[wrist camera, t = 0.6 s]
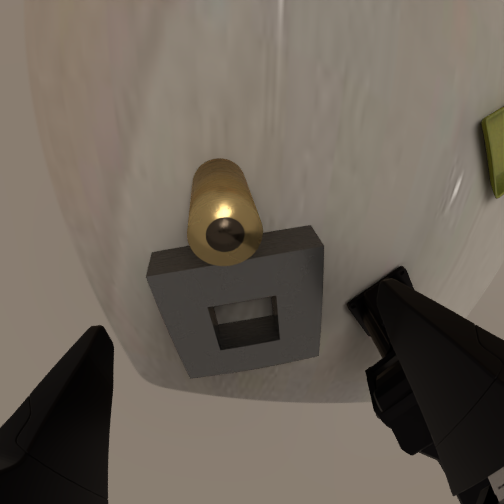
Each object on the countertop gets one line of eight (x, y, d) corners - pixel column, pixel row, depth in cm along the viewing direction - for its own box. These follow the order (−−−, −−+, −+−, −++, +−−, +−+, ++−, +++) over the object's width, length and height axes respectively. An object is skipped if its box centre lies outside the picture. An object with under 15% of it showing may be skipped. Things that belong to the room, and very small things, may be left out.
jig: (310, 332, 29) (318, 355, 27) (190, 353, 29) (190, 378, 26) (310, 225, 23) (323, 245, 20) (151, 252, 22) (145, 276, 19)
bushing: (255, 186, 20) (277, 238, 15) (215, 217, 21) (220, 278, 15) (223, 147, 19) (231, 184, 13) (181, 181, 19) (171, 232, 14)
